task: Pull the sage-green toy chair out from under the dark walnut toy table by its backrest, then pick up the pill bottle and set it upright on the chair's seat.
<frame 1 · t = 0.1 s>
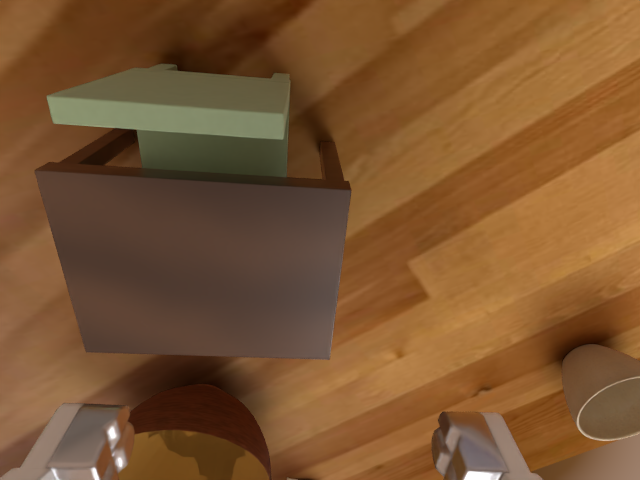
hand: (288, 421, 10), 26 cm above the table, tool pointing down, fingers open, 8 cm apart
bowl: (204, 399, 48), on the table
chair: (209, 161, 26), point 8 cm above the table, slide at 0.0 cm
toy table: (230, 209, 36), on the table
flower pot: (582, 357, 47), on the table
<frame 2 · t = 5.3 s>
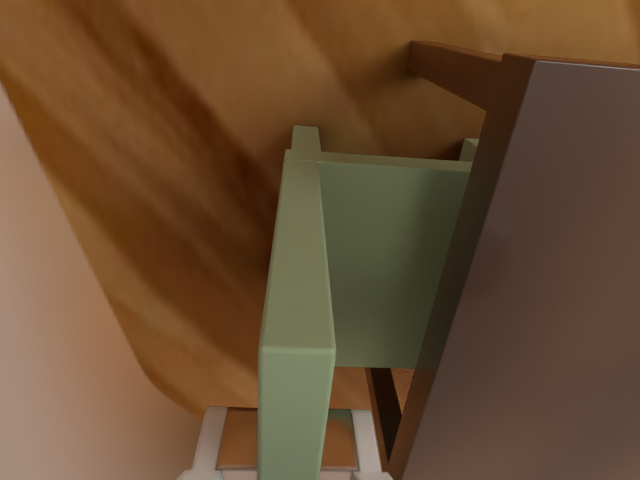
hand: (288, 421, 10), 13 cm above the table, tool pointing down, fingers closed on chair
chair: (408, 307, 15), point 8 cm above the table, slide at 0.0 cm, touching gripper
toy table: (499, 225, 22), on the table
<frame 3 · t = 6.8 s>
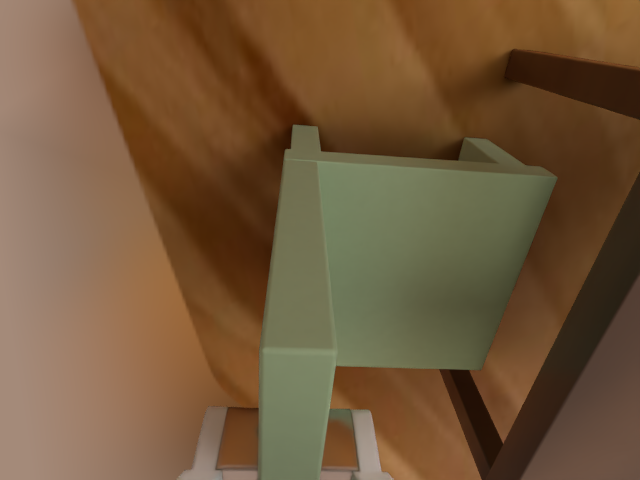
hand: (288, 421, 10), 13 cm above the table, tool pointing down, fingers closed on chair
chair: (408, 307, 15), point 8 cm above the table, slide at 4.6 cm, touching gripper
toy table: (577, 229, 23), on the table
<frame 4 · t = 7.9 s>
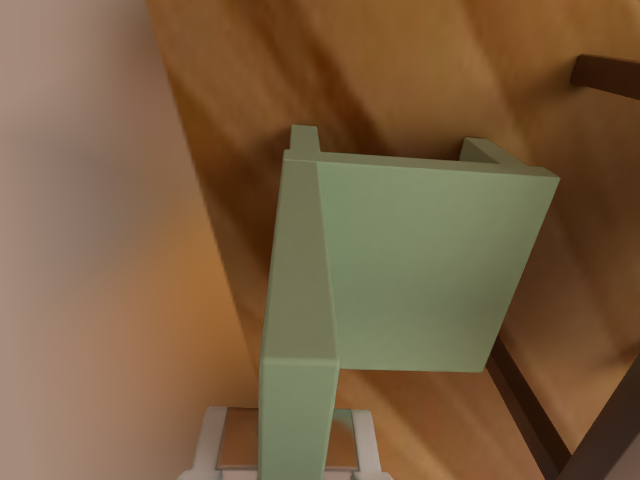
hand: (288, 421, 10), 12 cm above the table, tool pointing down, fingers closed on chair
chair: (409, 310, 15), point 8 cm above the table, slide at 7.7 cm, touching gripper
toy table: (629, 233, 23), on the table
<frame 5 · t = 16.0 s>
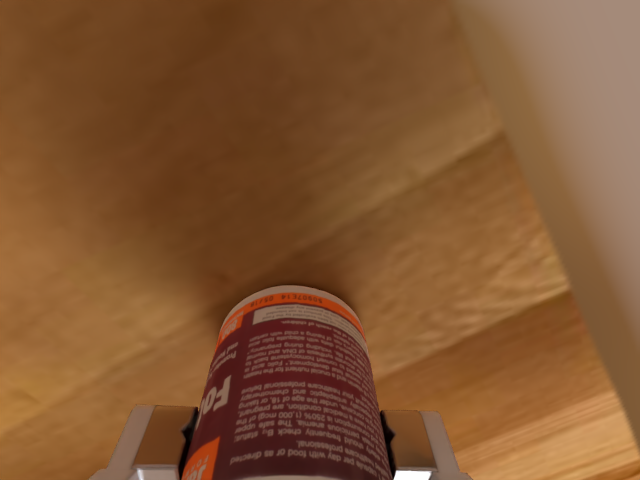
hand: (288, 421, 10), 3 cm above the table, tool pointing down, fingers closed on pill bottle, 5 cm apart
pill bottle: (292, 334, 13), on the table, touching gripper
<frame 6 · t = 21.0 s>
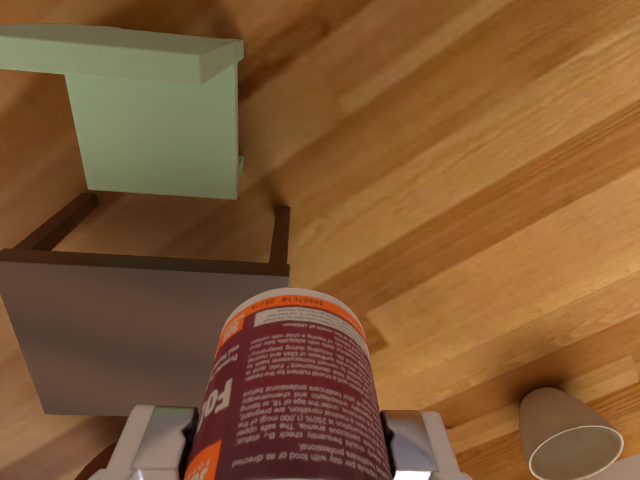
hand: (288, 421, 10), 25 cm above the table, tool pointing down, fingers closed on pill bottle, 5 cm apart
bowl: (174, 437, 50), on the table
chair: (146, 127, 24), point 8 cm above the table, slide at 7.8 cm
toy table: (193, 266, 37), on the table
flower pot: (540, 399, 49), on the table
pill bottle: (293, 336, 13), point 22 cm above the table, touching gripper
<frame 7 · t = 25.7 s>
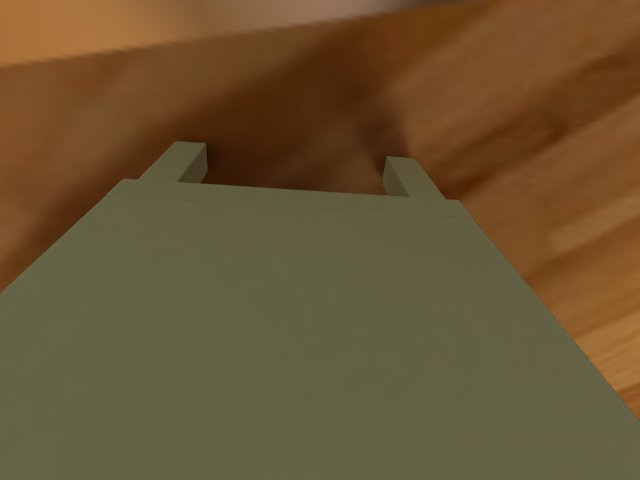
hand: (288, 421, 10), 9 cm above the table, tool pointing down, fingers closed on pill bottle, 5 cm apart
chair: (285, 380, 12), point 8 cm above the table, slide at 7.6 cm, touching pill bottle
when the fingers open (9 cm above the table, at t = 25.8 s): pill bottle stays where it is, resting on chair.
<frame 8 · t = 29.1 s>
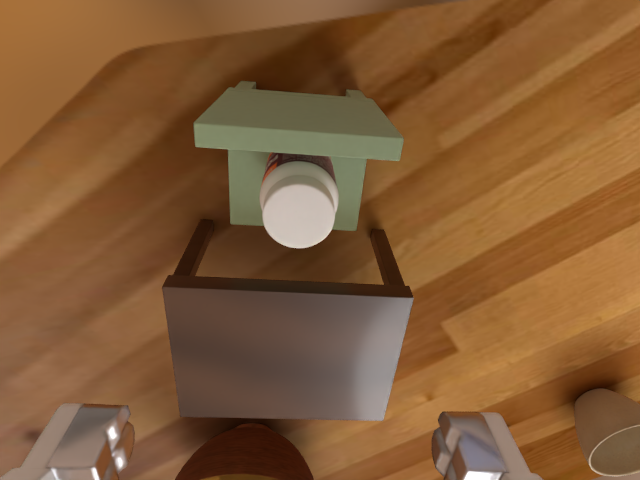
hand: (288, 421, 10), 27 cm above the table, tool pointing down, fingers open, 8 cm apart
bowl: (252, 435, 54), on the table
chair: (297, 175, 28), point 8 cm above the table, slide at 7.6 cm, touching pill bottle
toy table: (290, 282, 41), on the table
flower pot: (593, 399, 53), on the table
pill bottle: (299, 165, 29), point 6 cm above the table, touching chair
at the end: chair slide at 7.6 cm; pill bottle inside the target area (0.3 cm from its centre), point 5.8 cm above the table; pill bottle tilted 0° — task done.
